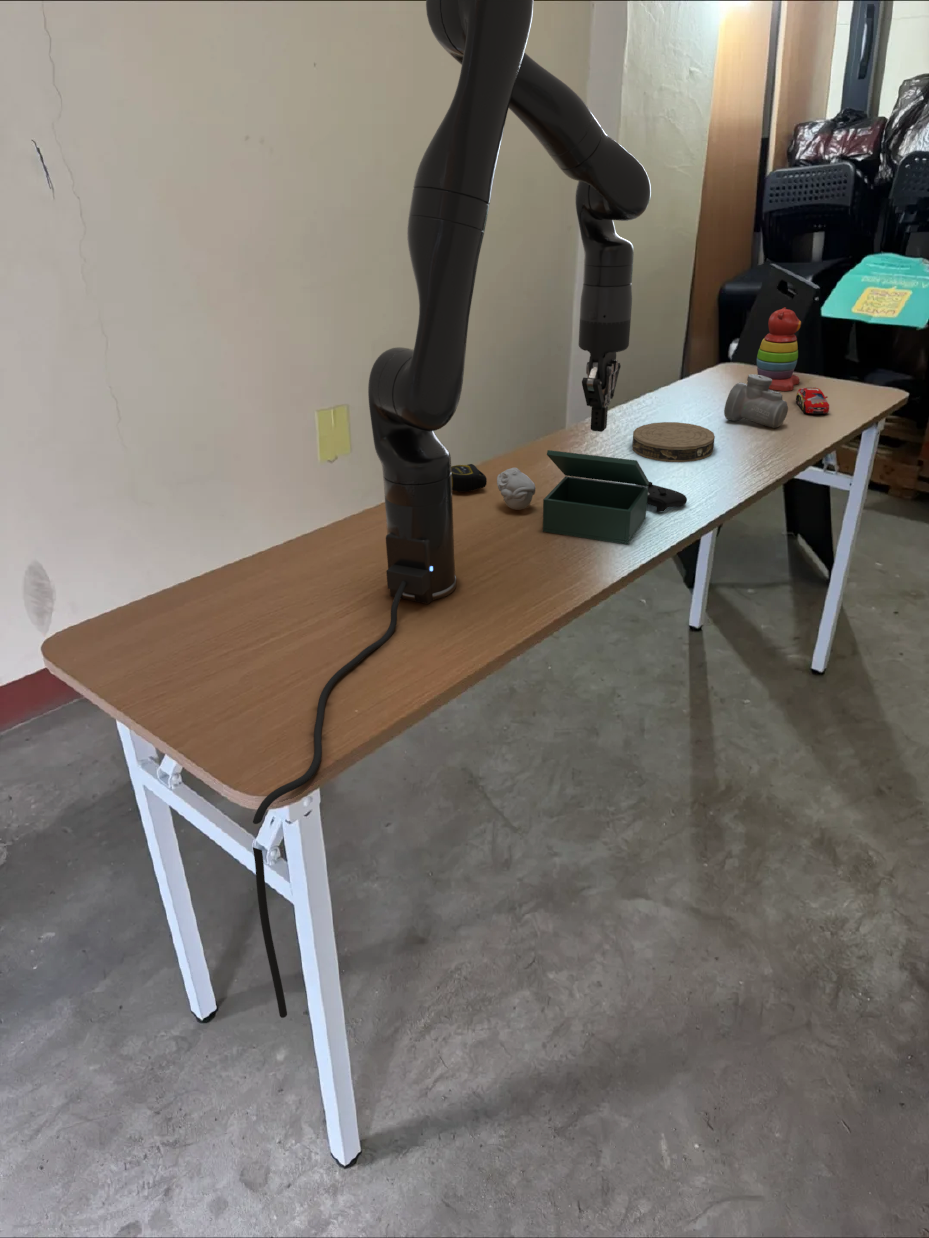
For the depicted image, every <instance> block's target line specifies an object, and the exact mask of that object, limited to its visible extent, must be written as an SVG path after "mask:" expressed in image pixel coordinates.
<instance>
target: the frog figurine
mask: <svg viewBox="0 0 929 1238" xmlns="http://www.w3.org/2000/svg"><path fill="white" fill-rule="evenodd" d="M496 485H497V489H498V491H499V492H500V495H501V496H502V497H503V501H504V503H505V504H506V506H507V507H509V508H510V509H511V510H516V511H520V510H523V509H526V508H527V507H528V506H529V505H530V504H531V502H532V500H533V496H534V495H535V494H536V484H535V482H534V481H533V480H532V479H531V478H530V477H529V476H528V475H527V474H526V473H524V472H522V471H521V470H520V469H519V468H518V467H511V468H507V469H505V470H504V471H501V473H499V474H497V476H496Z"/></svg>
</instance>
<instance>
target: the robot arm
mask: <svg viewBox="0 0 929 1238" xmlns="http://www.w3.org/2000/svg"><path fill="white" fill-rule="evenodd" d="M425 11H426V17H427V23H428V24H429V27H430V31H431V33H432V34H433V36H434V38H435V40H436V41H437V43H438V44H439V45H440V46H441V48H442V49H444V50H445V51H446V52H447V54H449V56H450V57H452V58H453V59H454V60H456V62H457V63H459V64H460V65H461V68H460V73H459V78H458V82H457V86H456V89H455V92H454V95H453V97H452V101H451V103H450V105H449V108H448V110H447V111H446V113H445V115H444V117H443V118H442V120H441V122H440V123H439V126H438V127H437V129H436V131H435V133H434V135H433V136H432V138H431V139H430V140H431V141H430V142H429V144H428V146H427V148H426V150H425V152H423V156H422V158H421V160H420V162H419V165H418V167H417V170H416V173H415V176H414V180H413V181H414V182H413V187H412V188H413V189H412V192H411V199H410V205H409V213H408V217H407V218H408V219H407V227H406V230H407V231H406V235H407V236H406V238H407V248H408V253H409V254H408V255H409V258H410V263H411V268H412V273H413V276H414V281H415V284H416V285H415V286H416V291H417V296H418V321H417V329H416V336H415V341H414V347H413V348H408V347H403V346H402V347H401V346H396V347H391V348H389V349H386V350H384V351H383V352H382V353H380V355H378V357H377V358H376V359H375V361H374V363H373V364H372V367H371V369H370V373H369V378H368V385H367V397H368V407H369V408H368V409H369V416H370V417H369V418H370V424H371V425H370V426H371V432H372V438H373V446H374V450H375V453H376V456H377V458H378V460H379V462H380V464H381V469H382V477H383V491H384V508H385V519H386V520H385V521H386V535H385V548H386V560H387V562H386V563H387V569H386V571H385V573H386V582H387V583H386V584H387V585H386V586H387V589H388V590H389V596H390V597H392V598H393V600H392V603H391V607H390V622H389V626H388V628H387V630H386V632H385V633H384V634H383V636H381V637H380V638H379V639H378V640H376V641H374V642H373V643H372V644H369V645H367V647H365V648H364V649H362V651H361V652H359V654H357V655H356V656H355V657H353V658H352V659H351V660H350V661H349V662H347V663H346V664H345V665H343V666H342V667H341V668H340V669H338V670H337V671H336V672H335V673H334V674H333V675H332V676H331V677H330V678H329V680H327V682H326V684H325V685H324V687H323V689H322V691H321V692H320V694H319V697H318V702H317V709H316V715H315V722H314V728H313V746H314V748H313V749H314V750H313V758H312V761H311V763H310V766H309V767H308V769H307V771H306V772H305V773H304V774H302V775H301V776H299V777H298V778H296V779H294V780H292V781H290V782H288V783H285V784H284V785H281V786H279V787H277V788H275V789H274V790H273V791H272V792H270V793H269V794H268V795H266V796H265V798H264V799H263V800H262V801H261V803H260V804H259V806H258V808H257V809H256V812H255V814H254V817H253V820H252V823H253V825H258V824H260V823H262V821H263V818H264V816H265V814H266V812H267V811H268V809H269V808H270V806H271V805H272V804H273V803H274V802H275V801H276V800H277V799H279V798H280V797H282V796H284V795H285V794H288V793H290V792H293V791H294V790H296V789H298V788H300V787H302V786H304V785H305V784H307V783H308V782H309V781H310V780H311V779H312V778H313V777H314V776H315V774H316V772H317V771H318V769H319V767H320V764H321V761H322V758H323V757H322V756H323V743H322V730H323V724H324V718H325V708H326V703H327V699H328V697H329V695H330V692H331V690H332V689H333V687H335V684H336V683H337V682H338V681H339V680H340V679H341V678H342V677H343V676H344V675H345V674H347V673H348V672H349V671H351V669H353V668H355V667H356V665H358V664H359V663H361V662H362V661H363V660H364V659H365V658H366V657H367V656H369V655H370V654H371V653H372V652H374V651H376V650H377V649H378V648H380V647H382V646H383V645H384V644H386V642H388V640H389V639H390V638H391V637H392V635H393V634H394V632H395V630H396V627H397V623H398V609H399V604H400V601H401V600H407V601H412V602H417V603H420V604H421V603H422V604H431V602H433V601H435V600H439V599H442V598H445V597H447V596H449V595H450V594H452V593H453V592H454V591H455V589H456V587H457V576H456V563H455V561H456V560H455V535H454V507H453V506H454V505H453V504H454V503H453V490H452V473H451V467H452V457H451V453H450V451H449V449H448V448H447V446H445V445H444V444H443V442H441V440H440V438H438V436H437V434H436V433H435V431H438V430H441V429H442V428H444V427H445V426H446V425H447V424H448V423H449V422H450V421H451V420H452V418H453V416H454V415H455V413H456V411H457V408H458V406H459V403H460V400H461V395H462V391H463V383H464V373H465V365H466V364H465V363H466V354H467V342H468V341H467V340H468V331H469V321H470V314H471V308H472V301H473V295H474V290H475V289H474V288H475V283H476V276H477V271H478V265H479V258H480V253H481V250H482V246H483V240H484V236H485V231H486V226H487V221H488V215H489V211H490V204H491V199H492V198H491V197H492V191H493V185H494V179H495V178H494V177H495V173H496V168H497V163H498V159H499V153H500V149H501V146H502V145H501V144H502V140H503V135H504V131H505V125H506V120H507V118H508V117H507V116H508V112H509V110H510V111H511V112H512V113H513V114H514V115H515V116H516V117H517V118H518V120H520V122H521V123H522V124H523V125H524V126H525V127H526V129H528V130H529V132H530V133H531V134H532V135H533V136H534V137H535V138H536V140H537V141H538V142H539V144H540V145H541V146H542V148H543V149H544V150H545V151H546V153H547V154H548V155H549V156H550V158H551V159H552V160H553V162H554V163H555V164H556V166H558V168H559V169H560V170H561V172H562V173H563V174H564V175H565V176H566V177H568V178H569V179H571V180H574V181H578V182H577V184H576V188H575V197H574V200H575V211H576V217H577V223H578V228H579V233H580V239H581V243H582V247H583V252H584V254H583V255H584V256H583V257H584V259H583V275H582V276H583V277H582V282H583V283H582V289H581V295H580V303H579V304H580V306H579V323H578V325H579V326H578V348H580V349H581V350H582V351H586V352H588V353H589V359H588V361H587V362H586V364H585V365H586V366H585V373H586V376H587V377H583V378H582V380H581V386H582V390H583V394H584V399H585V403H586V406H587V407H590V408H591V411H590V412H591V413H590V430H591V431H592V432H598V433H603V432H604V431H605V430H606V429H607V426H608V414H609V413H608V412H609V410H608V409H609V406H610V404H611V400H613V398H614V396H615V392H616V391H615V390H616V387H617V383H618V378H619V374H620V370H621V362H619V360H618V359H617V353H620V352H623V351H626V350H627V349H628V348H629V346H630V335H631V324H632V323H631V322H632V309H633V307H632V306H633V291H632V290H633V289H632V287H633V285H632V284H633V283H632V282H633V273H634V272H633V270H634V253H635V252H634V245H633V243H632V242H631V241H630V240H627V239H626V238H623V237H621V236H619V234H617V231H616V227H615V223H614V221H619V222H628V221H633V220H635V219H638V218H639V217H640V216H642V215H643V213H644V212H645V211H646V210H647V209H648V206H649V204H650V201H651V195H652V188H651V187H652V186H651V181H650V178H649V175H648V173H647V171H646V170H645V168H644V166H643V164H641V163H640V161H639V160H638V159H637V158H636V157H635V156H634V155H633V154H631V153H630V152H629V151H628V150H627V149H625V147H624V146H622V145H621V144H620V143H619V142H617V141H616V140H615V139H613V138H611V137H610V136H609V134H606V132H605V130H604V129H603V127H602V126H601V124H600V123H599V121H598V119H596V116H594V115H593V113H592V111H591V109H590V108H589V107H588V105H587V104H586V103H585V102H584V100H583V99H582V98H581V97H580V96H579V95H578V93H576V92H575V91H574V90H573V89H572V88H571V87H570V86H568V84H567V83H565V82H563V81H562V80H561V79H560V78H558V77H557V76H555V75H554V74H553V73H551V72H550V71H549V70H547V69H546V68H544V67H543V66H542V65H541V64H539V63H538V62H536V61H535V60H534V59H533V58H532V57H530V56H529V55H528V54H527V52H526V51H525V50H526V47H527V43H528V39H529V36H530V31H531V27H532V21H533V14H534V0H425ZM252 852H253V858H254V859H253V860H254V868H255V883H256V893H257V903H258V913H259V918H260V925H261V931H262V936H263V942H264V946H265V951H266V952H265V953H266V956H267V961H268V965H269V969H270V974H271V978H272V982H273V987H274V993H275V997H276V1003H277V1008H278V1015H279V1017H280V1018H282V1019H284V1018H286V1017H287V1016H288V1010H287V1005H286V999H285V998H286V997H285V993H284V988H283V983H282V979H281V973H280V969H279V965H278V959H277V955H276V950H275V945H274V939H273V934H272V928H271V923H270V917H269V909H268V908H269V907H268V901H267V890H266V878H265V863H264V862H265V861H264V855H263V850H262V849H260V848H257V847H255V846H252Z"/></svg>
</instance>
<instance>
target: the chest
mask: <svg viewBox="0 0 929 1238" xmlns="http://www.w3.org/2000/svg"><path fill="white" fill-rule="evenodd" d="M647 497H648V487H647V486H639V485H635V484H627V483H619V482H611V481H604V480H596V479H588V478H580V477H572V476H565V475H564V477H563V478H562V479H561V480H560V481H559V482H558V484H556V486H554V488H552V489H551V491H549V493H548V494H547V495H546V496H545V497H544V498H543V500H542V533H543V532H544V533H550V534H556V535H557V534H558V535H563V536H569V537H576V538H583V539H590V540H595V541H601V542H608V543H615V544H621V545H630V543H631V541H632V540H633V538H634V537H635V536H636V534H637V532H638V531H639V529H640V528H641V526H642V525H643V523H644V522H645V520H646V518H647V508H648V504H647Z"/></svg>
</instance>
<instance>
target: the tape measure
mask: <svg viewBox="0 0 929 1238" xmlns="http://www.w3.org/2000/svg"><path fill="white" fill-rule="evenodd" d="M451 473H452V491H453V492H457V493H469V492H473V491H478V490H480V489H484V488H485V487H486V486H487V483H488V478H487V476H486V475H485V474H484V473H483V472H482V471H481V470H479V468H478V467H477V466H476V465H475V464H473V463H469V464H468V463H467V464H456V465H451Z"/></svg>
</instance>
